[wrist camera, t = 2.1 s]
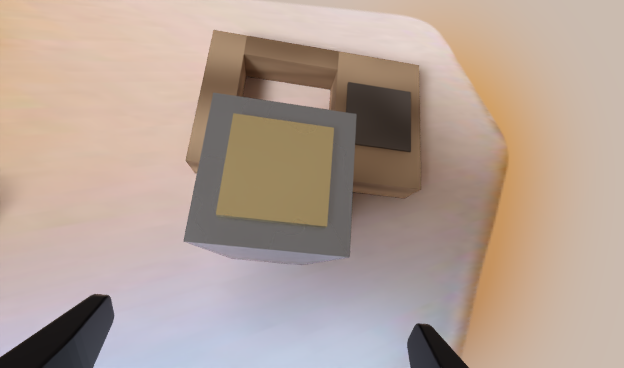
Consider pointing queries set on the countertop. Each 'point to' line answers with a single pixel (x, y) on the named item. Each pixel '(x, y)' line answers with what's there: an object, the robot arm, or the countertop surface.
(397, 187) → the plate with square hole
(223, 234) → the grey tall block
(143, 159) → the countertop surface
